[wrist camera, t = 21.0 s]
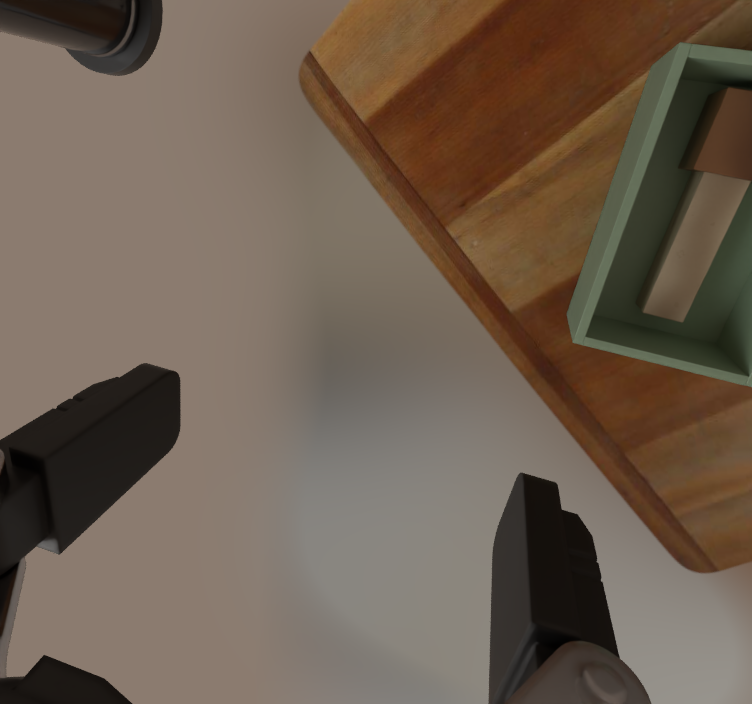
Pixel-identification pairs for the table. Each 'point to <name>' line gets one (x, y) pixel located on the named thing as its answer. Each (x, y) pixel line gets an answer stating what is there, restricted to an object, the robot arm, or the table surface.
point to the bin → (650, 222)
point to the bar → (702, 204)
